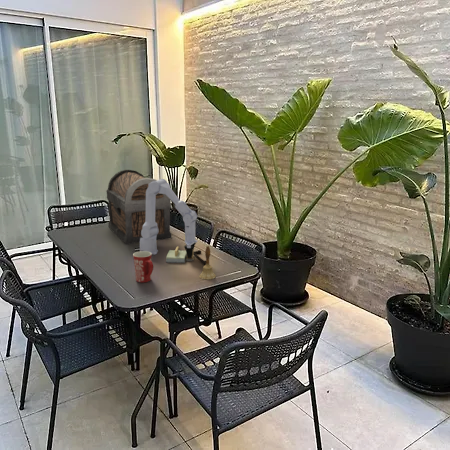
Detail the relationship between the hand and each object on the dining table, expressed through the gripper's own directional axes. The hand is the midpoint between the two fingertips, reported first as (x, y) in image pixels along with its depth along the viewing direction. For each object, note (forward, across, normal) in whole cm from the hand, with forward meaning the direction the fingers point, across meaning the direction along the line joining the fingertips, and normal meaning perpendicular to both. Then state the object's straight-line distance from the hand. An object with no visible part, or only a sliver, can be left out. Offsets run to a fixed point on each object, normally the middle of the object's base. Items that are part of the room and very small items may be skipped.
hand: (190, 256), depth 233 cm
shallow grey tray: (+2, 0, +8) cm, 8 cm away
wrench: (+2, -3, -8) cm, 9 cm away
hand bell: (+2, -24, -12) cm, 27 cm away
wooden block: (+2, 0, 0) cm, 2 cm away
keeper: (+2, 0, 0) cm, 2 cm away
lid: (0, 0, +8) cm, 8 cm away
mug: (+2, -32, +18) cm, 37 cm away
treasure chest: (+2, +51, +40) cm, 65 cm away
